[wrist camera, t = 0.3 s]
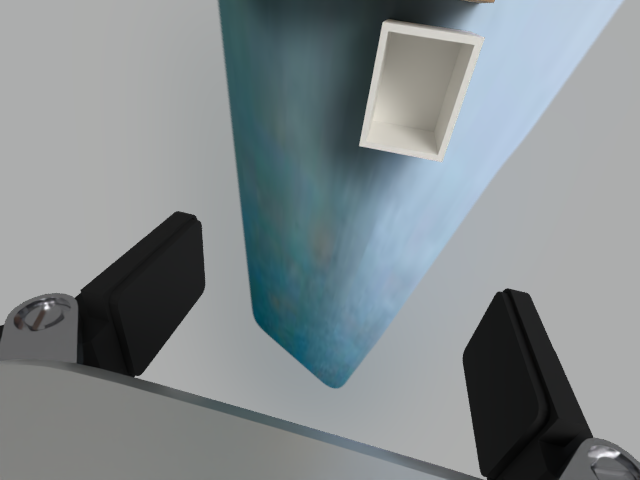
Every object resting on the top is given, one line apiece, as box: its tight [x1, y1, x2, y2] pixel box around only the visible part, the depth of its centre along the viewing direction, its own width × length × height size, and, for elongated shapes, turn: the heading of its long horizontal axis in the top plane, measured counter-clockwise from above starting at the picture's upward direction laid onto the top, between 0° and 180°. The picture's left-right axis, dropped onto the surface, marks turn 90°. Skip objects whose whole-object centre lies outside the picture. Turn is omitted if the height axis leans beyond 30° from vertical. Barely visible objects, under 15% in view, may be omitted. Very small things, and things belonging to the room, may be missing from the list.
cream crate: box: [359, 19, 485, 162], centre depth 30 cm, size 9×7×7 cm
